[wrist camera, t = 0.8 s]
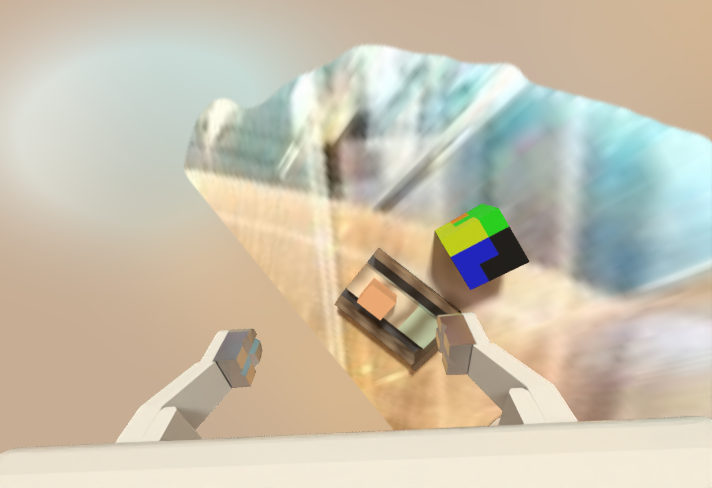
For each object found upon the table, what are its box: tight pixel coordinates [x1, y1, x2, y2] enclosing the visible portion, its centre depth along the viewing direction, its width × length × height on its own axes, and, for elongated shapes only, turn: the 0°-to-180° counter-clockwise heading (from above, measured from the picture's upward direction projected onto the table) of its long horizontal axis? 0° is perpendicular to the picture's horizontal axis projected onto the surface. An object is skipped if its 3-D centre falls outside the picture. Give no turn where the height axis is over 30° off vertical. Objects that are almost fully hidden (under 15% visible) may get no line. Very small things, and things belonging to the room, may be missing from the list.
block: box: [357, 278, 397, 320], centre depth 54 cm, size 6×5×4 cm
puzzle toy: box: [435, 204, 529, 290], centre depth 48 cm, size 10×10×10 cm
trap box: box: [334, 248, 461, 371], centre depth 56 cm, size 22×15×5 cm
